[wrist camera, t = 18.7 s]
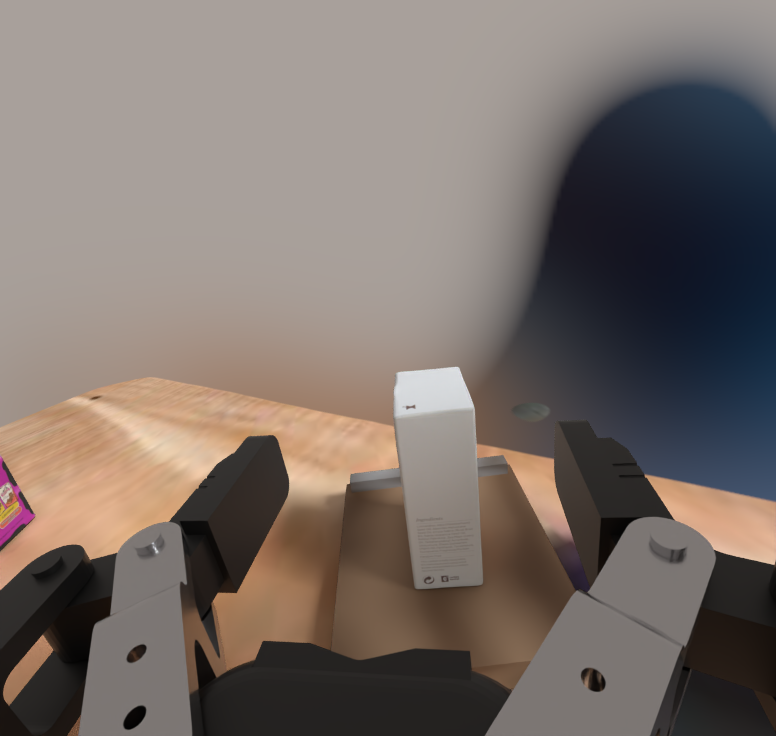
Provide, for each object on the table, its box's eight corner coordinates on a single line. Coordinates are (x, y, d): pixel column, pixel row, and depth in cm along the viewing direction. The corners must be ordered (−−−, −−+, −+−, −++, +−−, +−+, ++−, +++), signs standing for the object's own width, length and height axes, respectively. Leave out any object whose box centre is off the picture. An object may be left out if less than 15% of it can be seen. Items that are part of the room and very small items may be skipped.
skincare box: (485, 587, 25) (476, 409, 20) (414, 592, 25) (390, 417, 21) (470, 516, 30) (460, 364, 26) (411, 520, 31) (392, 371, 26)
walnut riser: (509, 483, 36) (509, 454, 35) (605, 677, 21) (609, 637, 20) (350, 503, 36) (344, 474, 35) (334, 709, 22) (323, 671, 20)
